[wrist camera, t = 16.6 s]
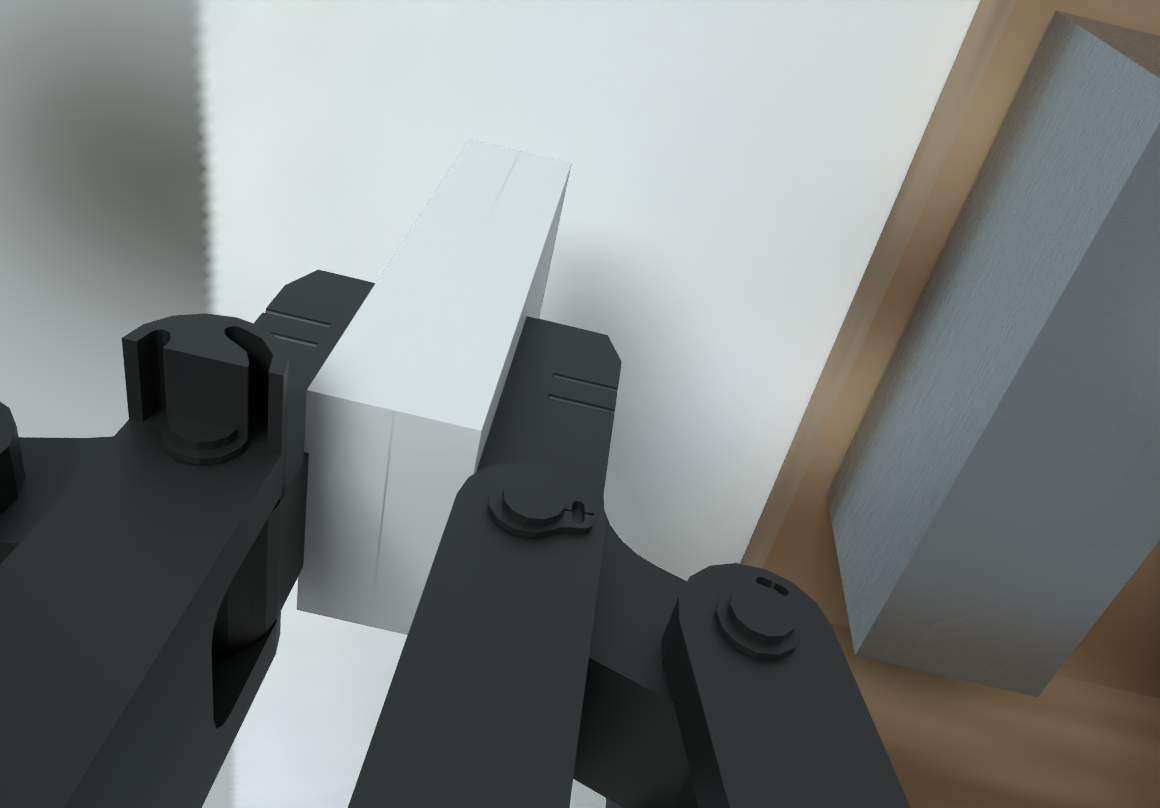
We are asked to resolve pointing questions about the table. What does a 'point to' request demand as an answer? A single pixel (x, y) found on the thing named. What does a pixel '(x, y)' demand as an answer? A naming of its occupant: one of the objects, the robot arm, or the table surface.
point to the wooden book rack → (840, 400)
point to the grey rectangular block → (1022, 389)
